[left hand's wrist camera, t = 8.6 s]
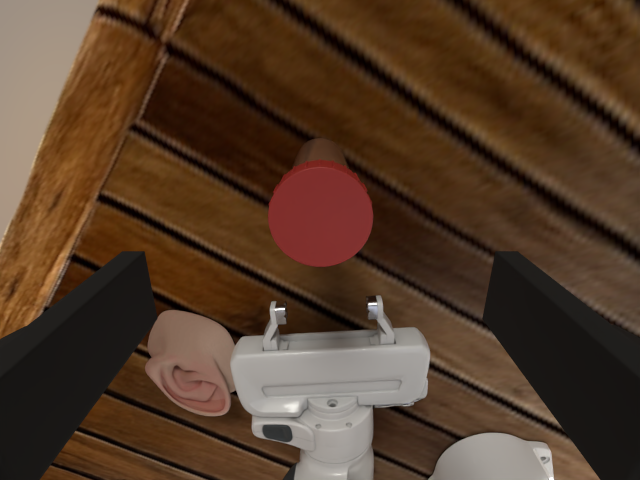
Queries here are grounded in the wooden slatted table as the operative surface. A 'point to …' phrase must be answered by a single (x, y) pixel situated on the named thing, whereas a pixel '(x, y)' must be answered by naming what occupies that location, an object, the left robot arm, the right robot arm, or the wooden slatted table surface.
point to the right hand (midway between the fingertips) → (325, 301)
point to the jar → (320, 152)
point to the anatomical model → (192, 362)
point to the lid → (320, 213)
